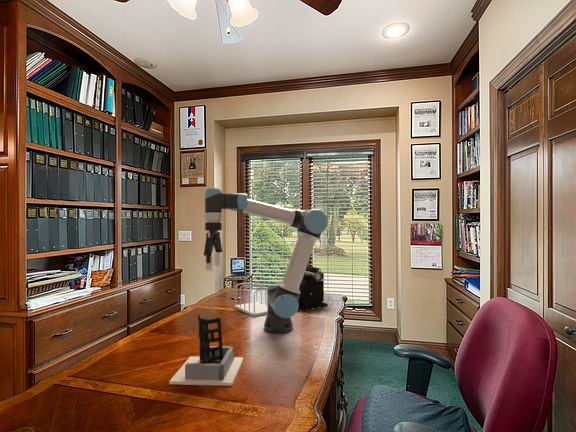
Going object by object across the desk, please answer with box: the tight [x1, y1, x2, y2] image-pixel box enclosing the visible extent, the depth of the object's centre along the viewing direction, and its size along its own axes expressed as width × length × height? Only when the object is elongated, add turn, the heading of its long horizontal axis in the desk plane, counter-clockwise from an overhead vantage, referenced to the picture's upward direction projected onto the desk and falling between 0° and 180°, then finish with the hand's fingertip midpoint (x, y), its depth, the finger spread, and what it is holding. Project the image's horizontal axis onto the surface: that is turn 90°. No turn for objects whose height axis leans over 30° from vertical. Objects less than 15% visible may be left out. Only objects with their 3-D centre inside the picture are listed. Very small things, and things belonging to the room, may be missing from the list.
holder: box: [197, 313, 223, 364], centre depth 119 cm, size 11×8×20 cm
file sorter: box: [234, 281, 268, 318], centre depth 200 cm, size 25×17×16 cm
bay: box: [168, 345, 245, 387], centre depth 119 cm, size 22×20×6 cm
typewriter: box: [297, 265, 329, 312], centre depth 215 cm, size 31×27×25 cm
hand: (213, 268), depth 146 cm, fingers open, 13 cm apart
